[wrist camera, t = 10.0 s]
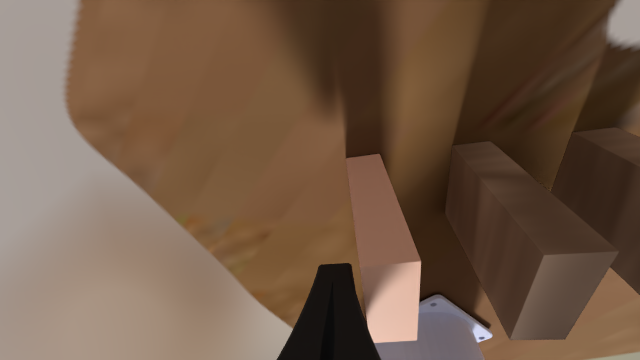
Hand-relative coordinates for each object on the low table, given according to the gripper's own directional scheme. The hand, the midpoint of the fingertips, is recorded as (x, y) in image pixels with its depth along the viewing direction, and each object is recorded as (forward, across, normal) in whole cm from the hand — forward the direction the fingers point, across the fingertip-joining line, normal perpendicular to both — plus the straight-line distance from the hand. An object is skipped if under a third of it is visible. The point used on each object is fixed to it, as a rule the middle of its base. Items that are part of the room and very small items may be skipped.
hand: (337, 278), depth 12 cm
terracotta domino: (+7, -2, 0) cm, 7 cm away
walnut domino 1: (+7, -8, 0) cm, 10 cm away
